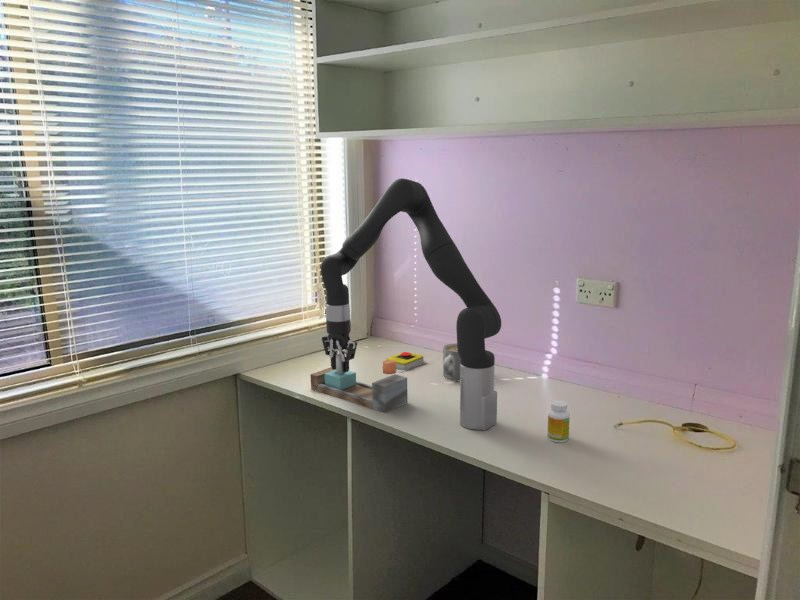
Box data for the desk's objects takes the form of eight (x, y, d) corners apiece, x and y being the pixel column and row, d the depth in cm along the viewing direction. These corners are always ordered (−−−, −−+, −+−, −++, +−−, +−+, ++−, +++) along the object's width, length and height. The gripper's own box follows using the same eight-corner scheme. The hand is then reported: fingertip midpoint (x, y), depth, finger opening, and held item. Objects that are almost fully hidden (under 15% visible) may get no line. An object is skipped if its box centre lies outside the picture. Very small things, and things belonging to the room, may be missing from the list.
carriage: (356, 384, 209) (355, 354, 207) (340, 390, 204) (339, 359, 202) (340, 380, 214) (339, 350, 212) (324, 385, 208) (323, 355, 206)
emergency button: (427, 351, 236) (401, 361, 225) (427, 363, 237) (401, 374, 226) (406, 347, 242) (380, 357, 231) (406, 358, 243) (380, 369, 232)
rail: (407, 402, 198) (407, 377, 196) (385, 412, 190) (384, 386, 189) (333, 380, 218) (332, 357, 217) (311, 389, 211) (309, 365, 209)
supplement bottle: (565, 444, 168) (566, 408, 166) (544, 440, 170) (545, 405, 168) (571, 436, 172) (572, 401, 170) (550, 432, 175) (552, 398, 173)
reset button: (399, 371, 194) (399, 362, 193) (390, 375, 191) (390, 365, 190) (389, 369, 196) (388, 359, 196) (380, 372, 193) (379, 362, 193)
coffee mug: (456, 369, 228) (456, 341, 226) (478, 375, 221) (479, 347, 219) (430, 378, 219) (429, 349, 217) (452, 385, 212) (452, 355, 210)
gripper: (363, 318, 202) (364, 372, 206) (331, 312, 212) (333, 363, 215) (345, 323, 197) (347, 378, 200) (313, 316, 206) (316, 369, 210)
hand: (340, 370), depth 208 cm, fingers open, 4 cm apart
